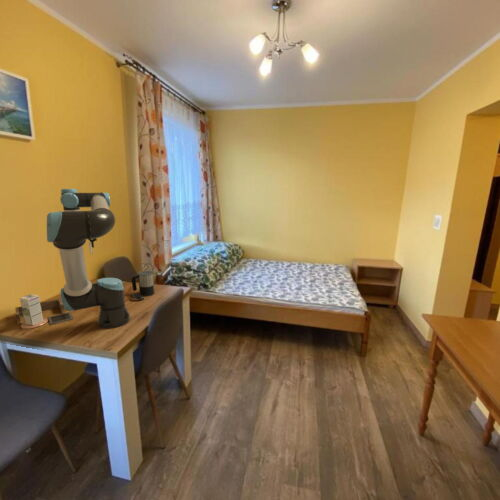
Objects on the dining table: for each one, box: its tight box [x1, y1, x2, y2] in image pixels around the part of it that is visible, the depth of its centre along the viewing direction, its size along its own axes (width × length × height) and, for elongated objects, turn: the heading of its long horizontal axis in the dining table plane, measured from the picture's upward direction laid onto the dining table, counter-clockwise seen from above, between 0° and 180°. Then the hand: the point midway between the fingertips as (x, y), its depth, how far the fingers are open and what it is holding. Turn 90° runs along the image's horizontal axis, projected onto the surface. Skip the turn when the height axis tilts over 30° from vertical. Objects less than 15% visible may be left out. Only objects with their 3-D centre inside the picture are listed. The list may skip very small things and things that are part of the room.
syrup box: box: [19, 293, 44, 326], centre depth 140 cm, size 6×6×14 cm
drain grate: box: [47, 311, 74, 326], centre depth 147 cm, size 10×10×1 cm
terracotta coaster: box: [20, 317, 49, 330], centre depth 141 cm, size 11×11×1 cm
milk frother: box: [131, 270, 155, 301], centre depth 177 cm, size 14×16×15 cm
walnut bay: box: [15, 297, 66, 325], centre depth 151 cm, size 12×20×5 cm, turn 131°
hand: (77, 255), depth 154 cm, fingers open, 13 cm apart
